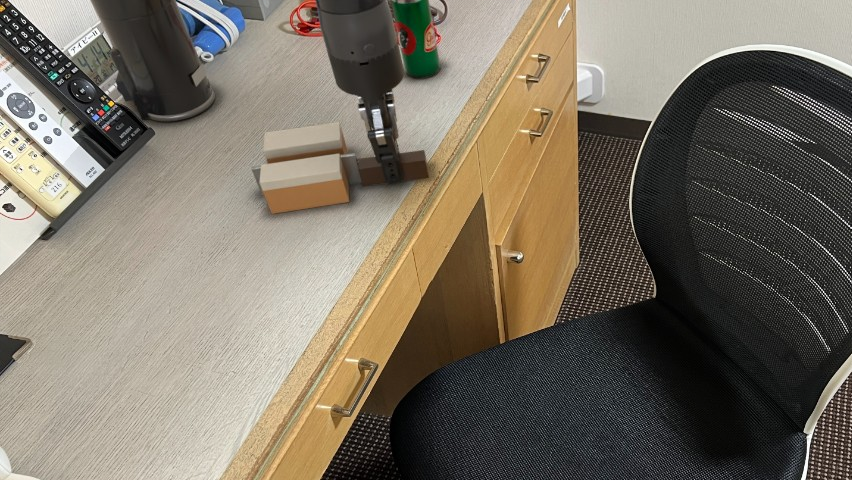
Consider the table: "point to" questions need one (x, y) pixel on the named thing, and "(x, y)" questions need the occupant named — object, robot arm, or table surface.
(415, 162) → the knife
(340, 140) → the cake
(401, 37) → the soda can
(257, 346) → the table surface
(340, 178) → the cake slice
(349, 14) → the robot arm
